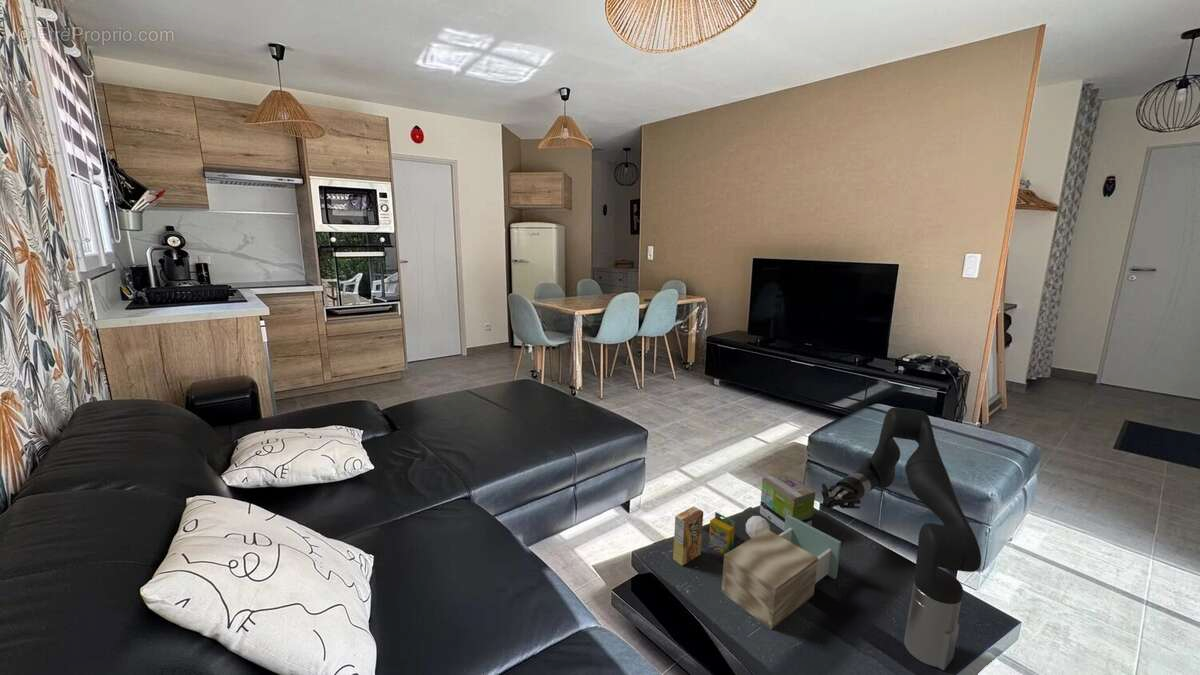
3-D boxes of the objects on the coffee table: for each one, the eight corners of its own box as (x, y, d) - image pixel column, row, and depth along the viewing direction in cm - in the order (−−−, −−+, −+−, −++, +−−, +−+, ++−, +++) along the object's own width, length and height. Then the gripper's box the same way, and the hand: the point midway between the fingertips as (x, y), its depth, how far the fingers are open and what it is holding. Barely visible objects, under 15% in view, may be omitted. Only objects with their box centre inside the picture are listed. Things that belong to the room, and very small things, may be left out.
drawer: (836, 577, 138) (841, 541, 135) (798, 608, 126) (802, 569, 124) (784, 547, 151) (787, 514, 149) (745, 572, 140) (748, 537, 137)
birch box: (813, 595, 132) (818, 557, 129) (771, 629, 120) (775, 588, 118) (764, 563, 144) (767, 528, 142) (721, 592, 133) (724, 554, 130)
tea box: (758, 513, 170) (761, 476, 167) (779, 507, 175) (782, 471, 172) (790, 537, 157) (794, 497, 154) (812, 530, 161) (816, 490, 158)
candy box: (691, 548, 151) (693, 505, 148) (701, 554, 148) (704, 511, 145) (672, 559, 146) (674, 515, 143) (682, 567, 143) (685, 521, 139)
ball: (761, 543, 158) (777, 527, 157) (756, 548, 151) (773, 531, 150) (743, 525, 162) (759, 509, 160) (738, 529, 155) (754, 512, 154)
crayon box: (707, 547, 152) (709, 515, 149) (713, 543, 154) (715, 511, 151) (727, 558, 147) (730, 525, 144) (732, 554, 149) (735, 521, 146)
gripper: (835, 469, 159) (806, 484, 149) (876, 485, 149) (848, 504, 139) (832, 489, 161) (804, 506, 151) (872, 507, 150) (845, 526, 140)
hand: (825, 505), depth 145 cm, fingers closed
